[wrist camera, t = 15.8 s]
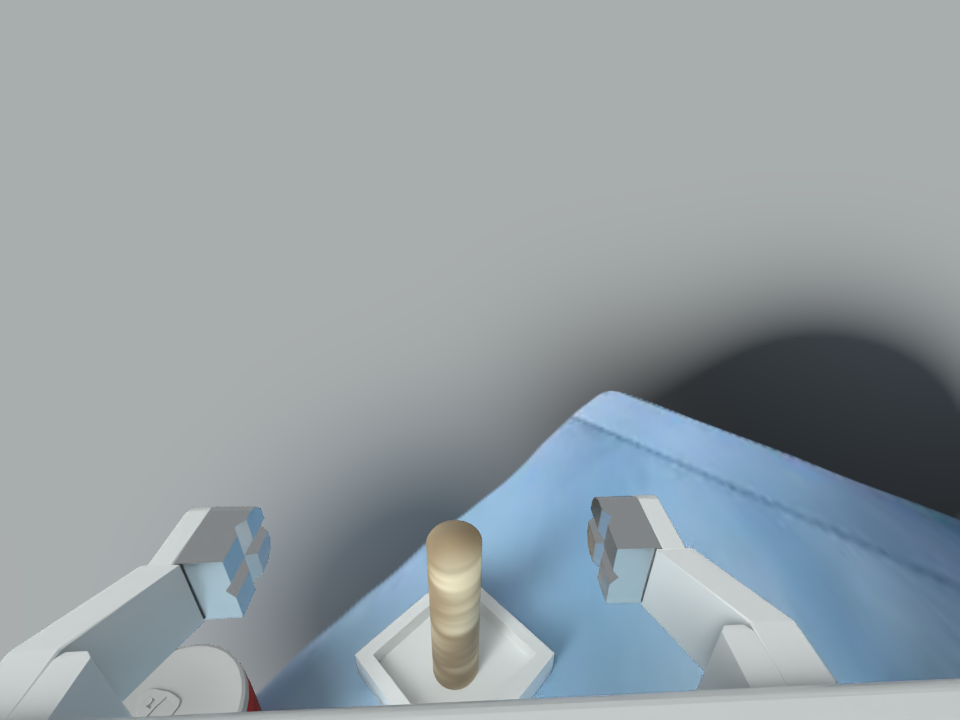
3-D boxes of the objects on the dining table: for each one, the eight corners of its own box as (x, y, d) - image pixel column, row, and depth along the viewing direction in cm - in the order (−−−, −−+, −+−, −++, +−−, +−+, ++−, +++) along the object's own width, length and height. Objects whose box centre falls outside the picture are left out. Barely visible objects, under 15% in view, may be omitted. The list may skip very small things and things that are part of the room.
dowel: (487, 664, 35) (493, 541, 29) (454, 701, 33) (453, 577, 26) (456, 632, 37) (455, 511, 31) (423, 664, 35) (414, 542, 28)
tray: (551, 671, 35) (554, 653, 34) (450, 802, 28) (449, 785, 27) (458, 584, 42) (458, 566, 41) (358, 672, 35) (354, 654, 34)
